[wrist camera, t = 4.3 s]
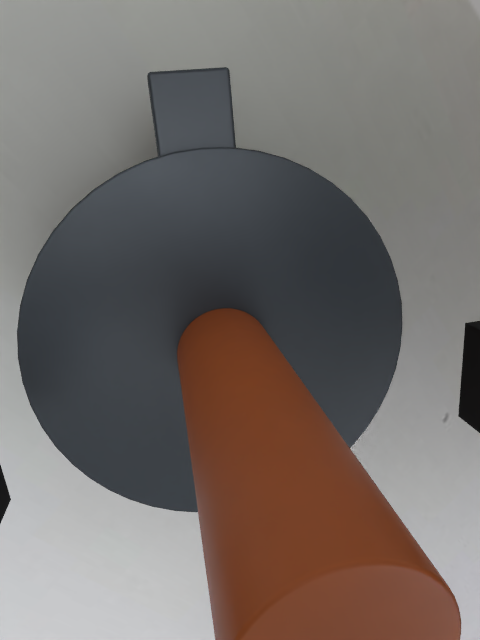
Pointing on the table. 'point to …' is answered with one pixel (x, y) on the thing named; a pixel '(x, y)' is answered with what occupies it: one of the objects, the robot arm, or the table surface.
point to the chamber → (191, 109)
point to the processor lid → (236, 385)
